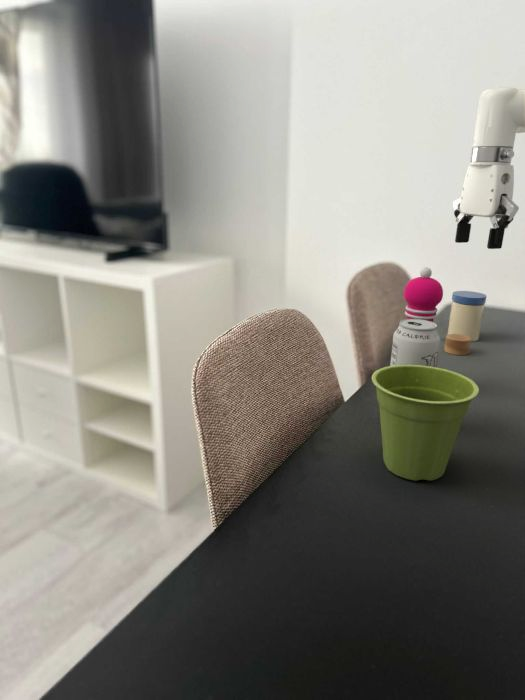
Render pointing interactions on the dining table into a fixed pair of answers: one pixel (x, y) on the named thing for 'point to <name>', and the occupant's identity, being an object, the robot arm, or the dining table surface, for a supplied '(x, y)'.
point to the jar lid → (469, 297)
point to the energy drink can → (415, 343)
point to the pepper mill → (423, 297)
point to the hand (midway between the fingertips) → (477, 245)
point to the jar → (466, 320)
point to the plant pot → (420, 417)
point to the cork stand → (457, 344)
